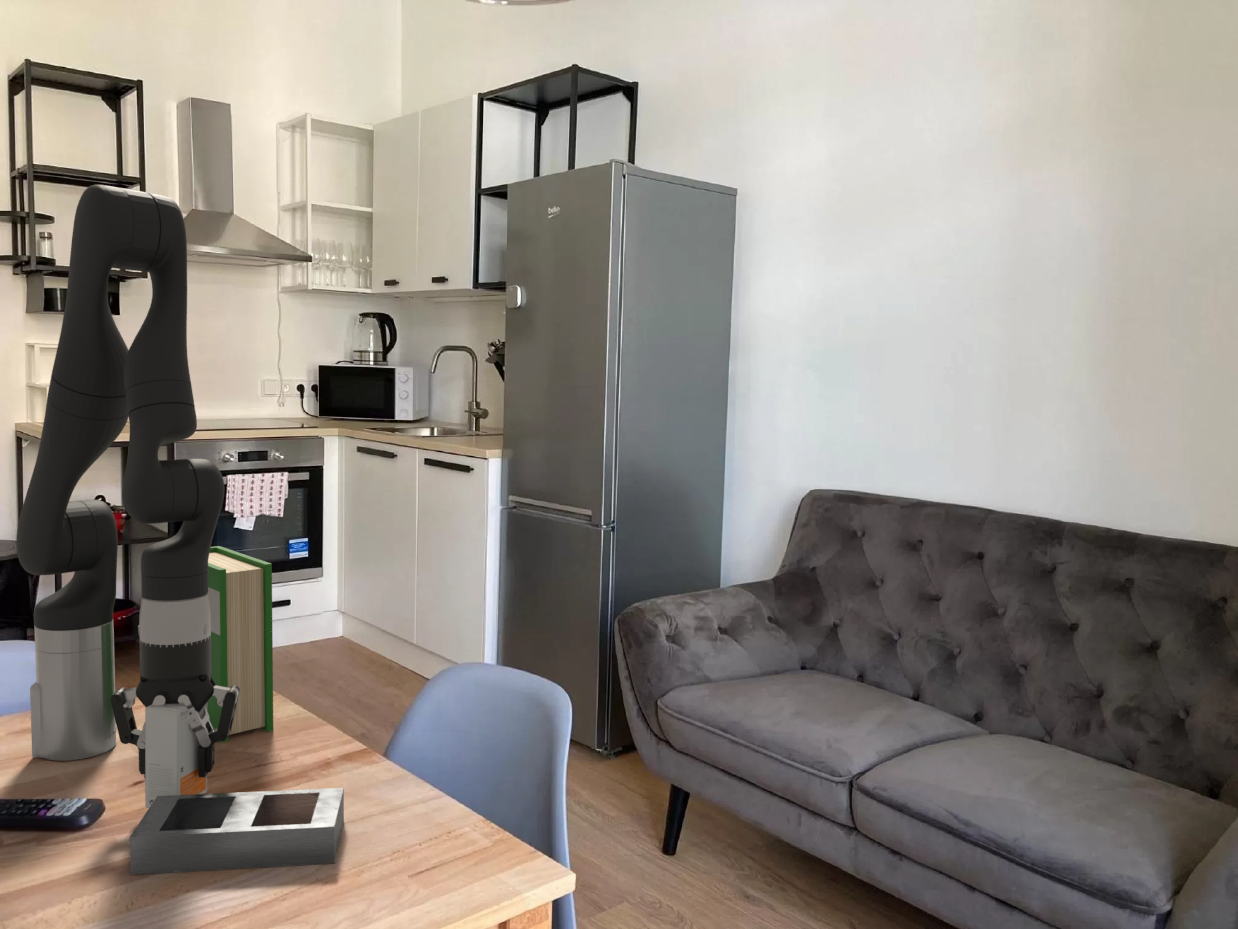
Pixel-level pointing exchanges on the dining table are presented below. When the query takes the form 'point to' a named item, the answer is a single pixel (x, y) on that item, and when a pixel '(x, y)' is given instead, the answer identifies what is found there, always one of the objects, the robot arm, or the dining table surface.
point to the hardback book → (241, 636)
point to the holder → (238, 831)
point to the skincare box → (171, 753)
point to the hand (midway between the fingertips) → (177, 775)
